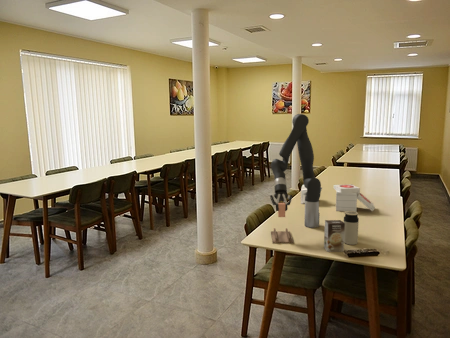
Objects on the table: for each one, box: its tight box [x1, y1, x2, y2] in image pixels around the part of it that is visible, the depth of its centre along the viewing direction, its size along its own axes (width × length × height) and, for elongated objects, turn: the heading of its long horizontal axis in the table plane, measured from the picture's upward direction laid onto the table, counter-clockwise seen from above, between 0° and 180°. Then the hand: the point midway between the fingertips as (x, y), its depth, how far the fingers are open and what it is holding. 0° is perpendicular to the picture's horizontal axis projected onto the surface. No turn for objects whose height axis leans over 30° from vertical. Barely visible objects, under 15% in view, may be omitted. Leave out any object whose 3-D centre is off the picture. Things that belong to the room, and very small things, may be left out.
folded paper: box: [300, 184, 323, 205], centre depth 296 cm, size 17×24×17 cm
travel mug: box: [343, 211, 360, 246], centre depth 200 cm, size 8×8×18 cm
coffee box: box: [323, 219, 345, 253], centre depth 190 cm, size 9×6×16 cm
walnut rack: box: [270, 228, 294, 244], centre depth 211 cm, size 12×18×3 cm, turn 176°
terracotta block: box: [277, 201, 286, 218], centre depth 208 cm, size 4×4×8 cm
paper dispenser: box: [333, 184, 376, 213], centre depth 269 cm, size 19×30×18 cm, turn 73°
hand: (282, 210), depth 206 cm, fingers closed on terracotta block, 4 cm apart
